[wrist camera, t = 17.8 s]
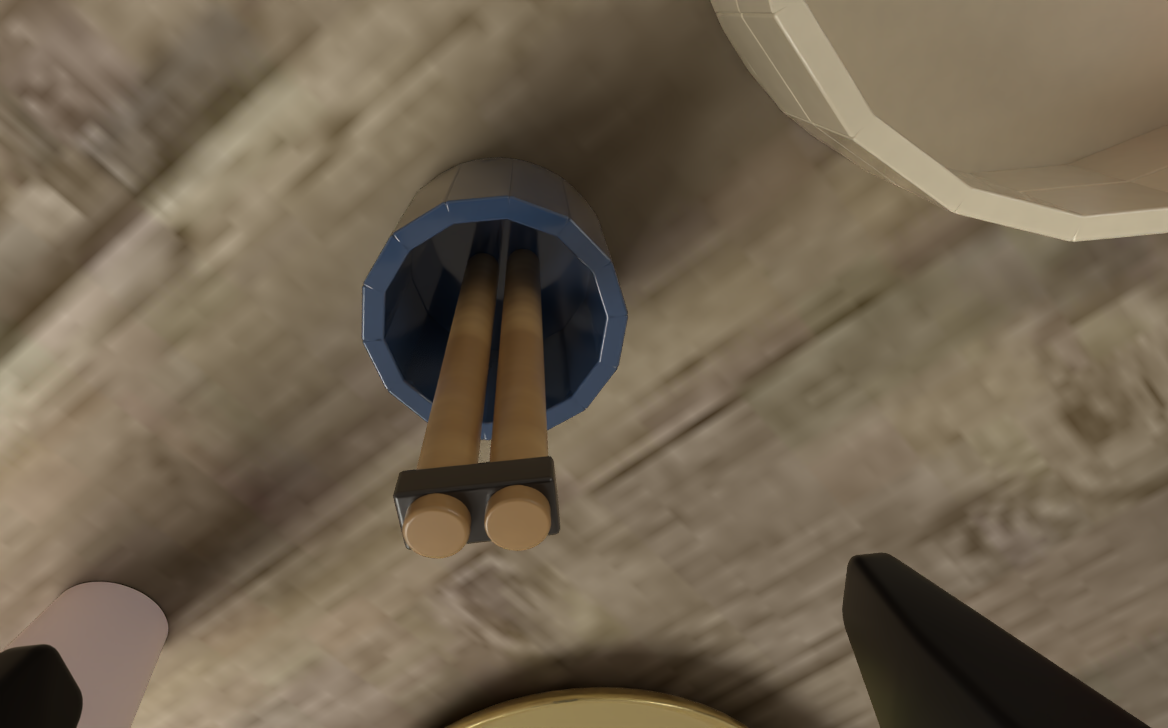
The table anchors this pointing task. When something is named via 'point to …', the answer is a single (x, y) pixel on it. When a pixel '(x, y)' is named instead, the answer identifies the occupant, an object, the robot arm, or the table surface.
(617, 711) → the serving platter
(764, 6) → the bowl
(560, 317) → the holder
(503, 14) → the table surface
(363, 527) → the table surface
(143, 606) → the smoothie
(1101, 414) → the table surface
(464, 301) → the chopsticks
